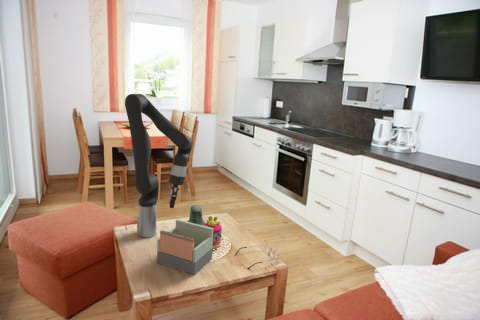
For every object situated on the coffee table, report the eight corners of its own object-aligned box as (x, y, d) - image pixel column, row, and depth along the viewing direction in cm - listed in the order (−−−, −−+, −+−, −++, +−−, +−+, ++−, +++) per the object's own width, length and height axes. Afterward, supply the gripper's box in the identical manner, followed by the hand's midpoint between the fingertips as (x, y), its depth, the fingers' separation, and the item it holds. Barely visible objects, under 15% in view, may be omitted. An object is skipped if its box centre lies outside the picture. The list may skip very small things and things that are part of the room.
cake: (223, 249, 175) (225, 221, 171) (204, 251, 171) (205, 223, 167) (217, 240, 184) (218, 214, 181) (198, 242, 180) (199, 215, 177)
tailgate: (161, 250, 156) (162, 230, 154) (193, 259, 150) (194, 238, 148) (159, 251, 155) (160, 231, 153) (191, 261, 149) (192, 240, 146)
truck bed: (176, 248, 171) (177, 219, 168) (211, 259, 164) (213, 228, 160) (157, 263, 157) (157, 231, 154) (194, 275, 149) (195, 241, 146)
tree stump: (202, 221, 208) (207, 197, 201) (212, 243, 192) (218, 217, 184) (172, 223, 200) (176, 197, 193) (180, 246, 184) (185, 218, 177)
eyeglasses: (282, 263, 165) (283, 254, 164) (248, 271, 156) (249, 261, 155) (265, 248, 179) (265, 240, 178) (233, 254, 170) (233, 245, 169)
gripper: (170, 172, 177) (164, 202, 177) (170, 174, 163) (163, 207, 163) (184, 174, 178) (178, 205, 178) (185, 177, 164) (179, 210, 164)
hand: (171, 206), depth 170 cm, fingers open, 8 cm apart
